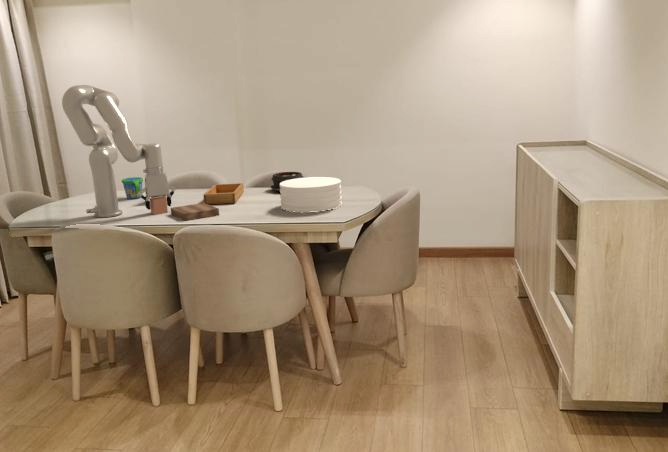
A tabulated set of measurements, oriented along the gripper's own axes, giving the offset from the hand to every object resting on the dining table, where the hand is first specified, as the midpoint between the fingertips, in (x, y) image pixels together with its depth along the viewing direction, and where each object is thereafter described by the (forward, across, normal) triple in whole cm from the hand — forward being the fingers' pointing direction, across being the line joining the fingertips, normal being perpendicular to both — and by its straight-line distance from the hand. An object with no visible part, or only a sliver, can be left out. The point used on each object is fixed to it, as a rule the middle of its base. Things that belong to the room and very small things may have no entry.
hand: (158, 207), depth 321 cm
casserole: (+3, +72, +8) cm, 72 cm away
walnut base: (+2, +11, -17) cm, 20 cm away
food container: (+3, +10, +27) cm, 29 cm away
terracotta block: (+2, 0, 0) cm, 3 cm away
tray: (+3, +37, +10) cm, 38 cm away
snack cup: (+3, +2, +48) cm, 48 cm away
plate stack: (+3, +59, -39) cm, 71 cm away
